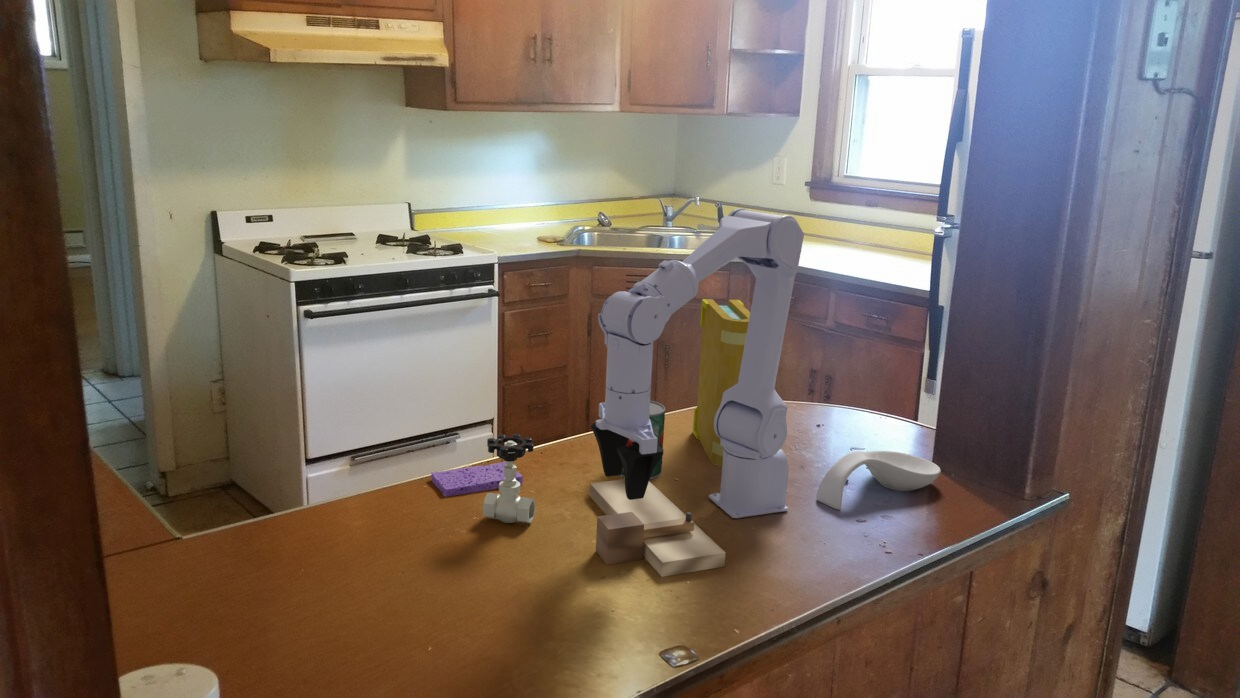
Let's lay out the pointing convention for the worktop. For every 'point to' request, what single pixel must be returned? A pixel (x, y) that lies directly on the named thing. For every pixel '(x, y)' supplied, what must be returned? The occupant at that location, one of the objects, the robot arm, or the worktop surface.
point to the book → (718, 367)
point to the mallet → (632, 535)
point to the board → (663, 550)
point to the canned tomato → (655, 433)
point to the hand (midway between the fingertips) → (623, 486)
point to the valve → (509, 482)
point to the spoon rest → (877, 473)
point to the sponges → (471, 479)
